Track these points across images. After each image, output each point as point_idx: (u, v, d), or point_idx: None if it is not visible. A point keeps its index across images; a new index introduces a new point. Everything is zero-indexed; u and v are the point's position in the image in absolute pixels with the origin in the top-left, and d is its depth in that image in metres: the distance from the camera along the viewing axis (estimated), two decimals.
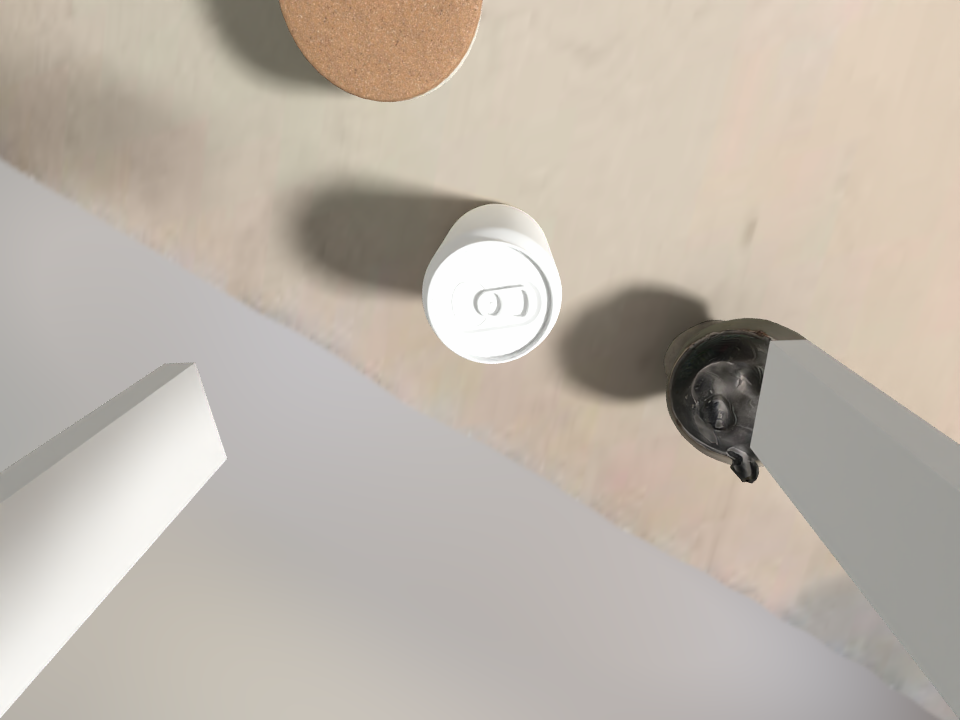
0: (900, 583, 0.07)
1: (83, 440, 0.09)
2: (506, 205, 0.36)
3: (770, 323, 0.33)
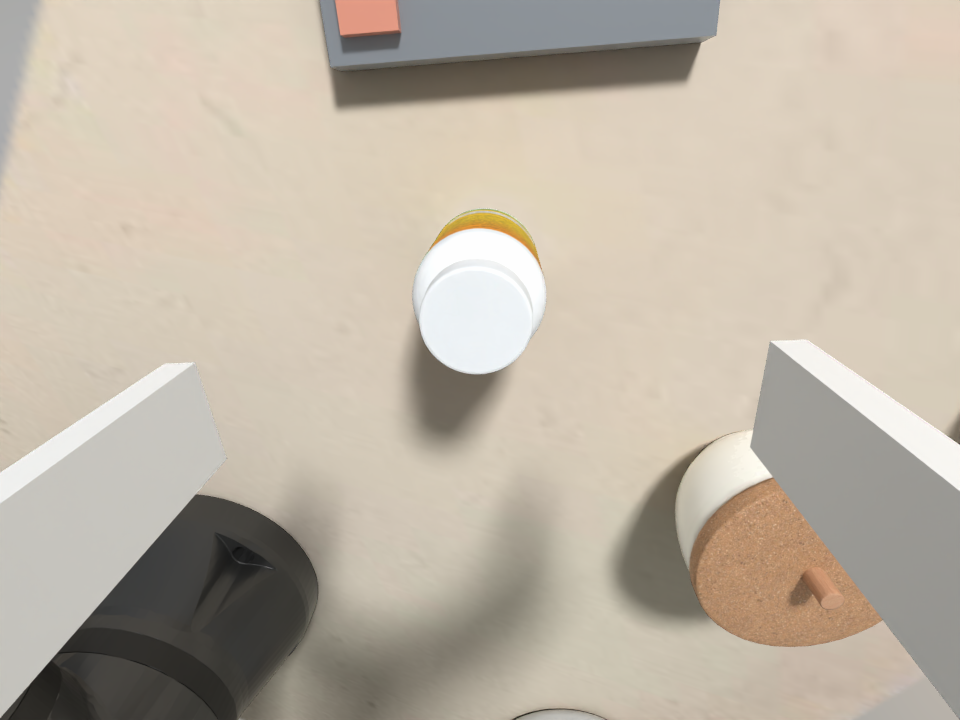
0: (900, 583, 0.07)
1: (83, 440, 0.09)
2: None
3: None
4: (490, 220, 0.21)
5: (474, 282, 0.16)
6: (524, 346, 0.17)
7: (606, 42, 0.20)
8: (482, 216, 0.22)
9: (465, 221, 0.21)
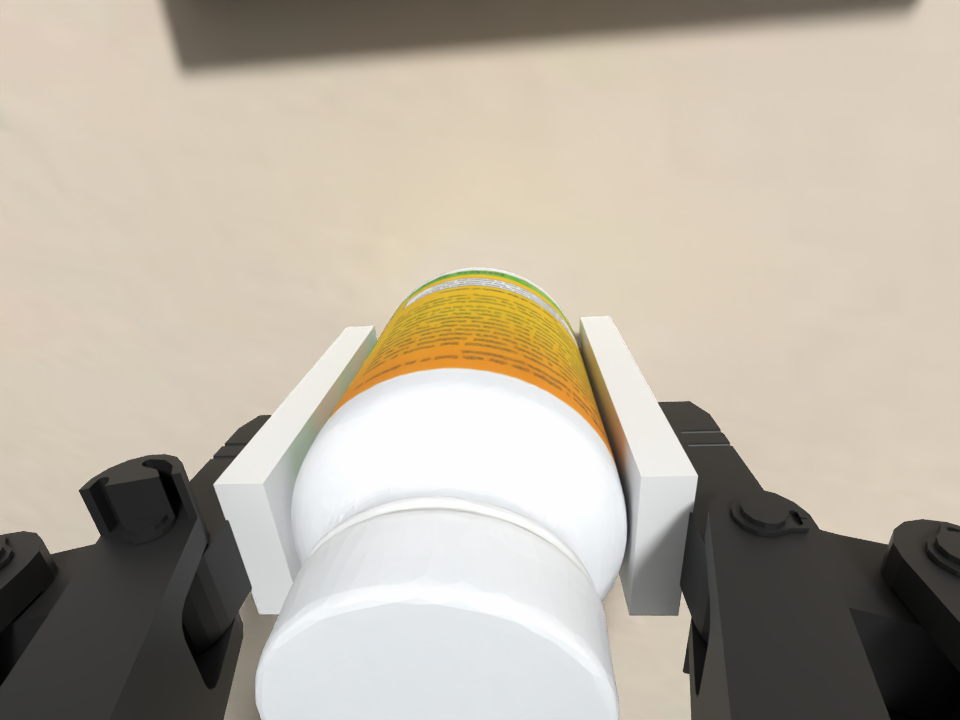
0: None
1: (331, 381, 0.10)
2: None
3: None
4: (488, 319, 0.09)
5: (426, 633, 0.05)
6: None
7: None
8: (471, 302, 0.10)
9: (432, 319, 0.09)
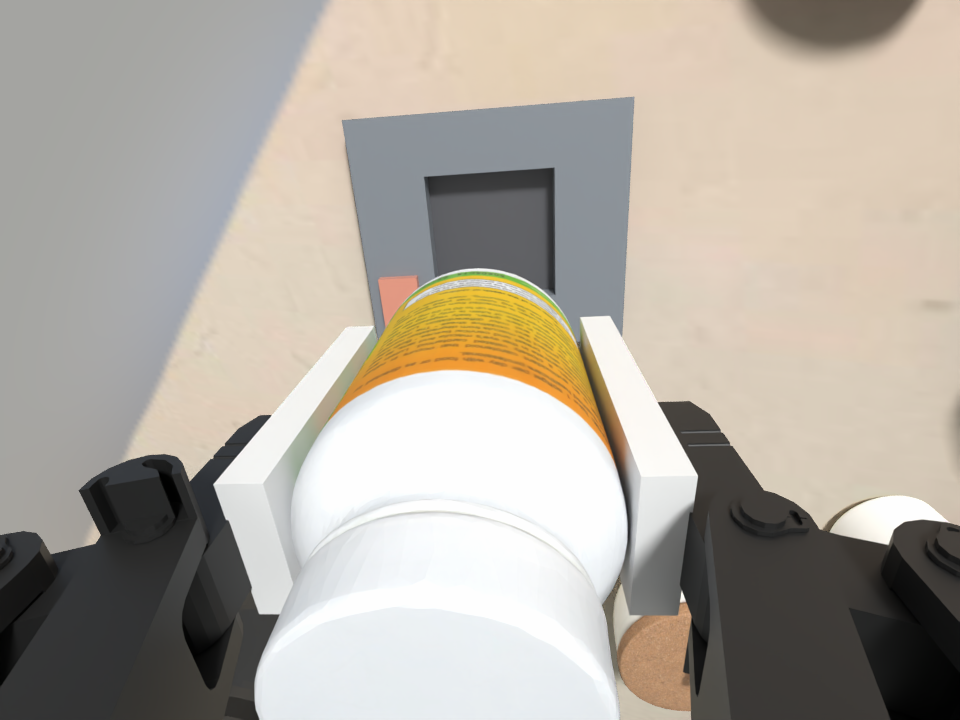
0: None
1: (331, 381, 0.10)
2: (835, 532, 0.38)
3: None
4: (488, 321, 0.09)
5: (426, 636, 0.05)
6: None
7: None
8: (471, 304, 0.10)
9: (432, 321, 0.09)
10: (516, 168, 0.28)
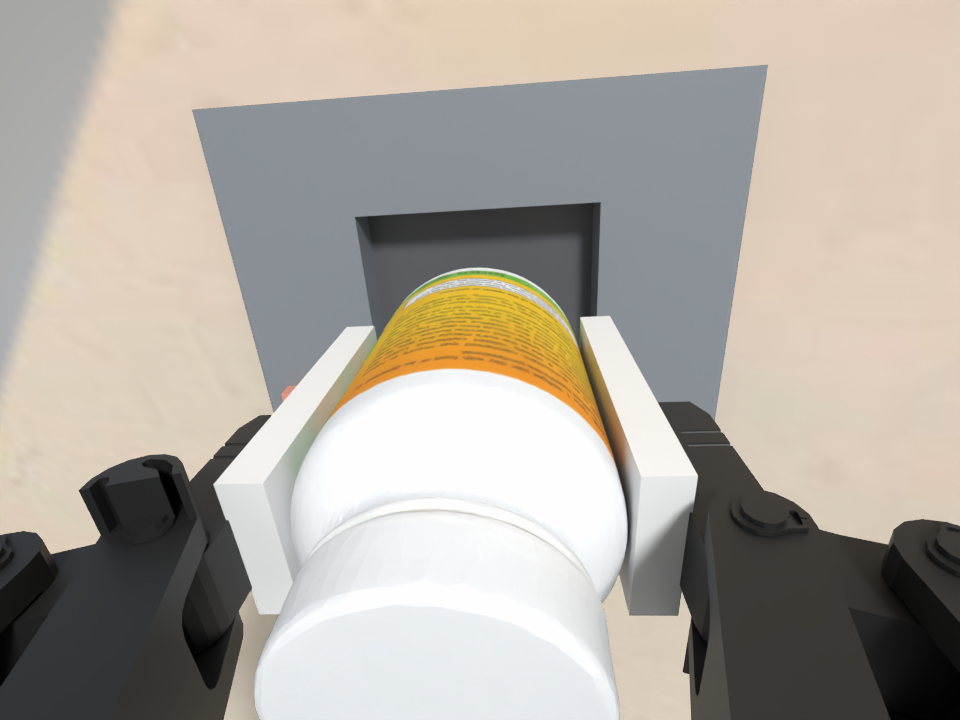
0: None
1: (331, 381, 0.10)
2: None
3: None
4: (488, 320, 0.09)
5: (424, 635, 0.05)
6: None
7: None
8: (471, 303, 0.10)
9: (432, 320, 0.09)
10: (528, 203, 0.15)
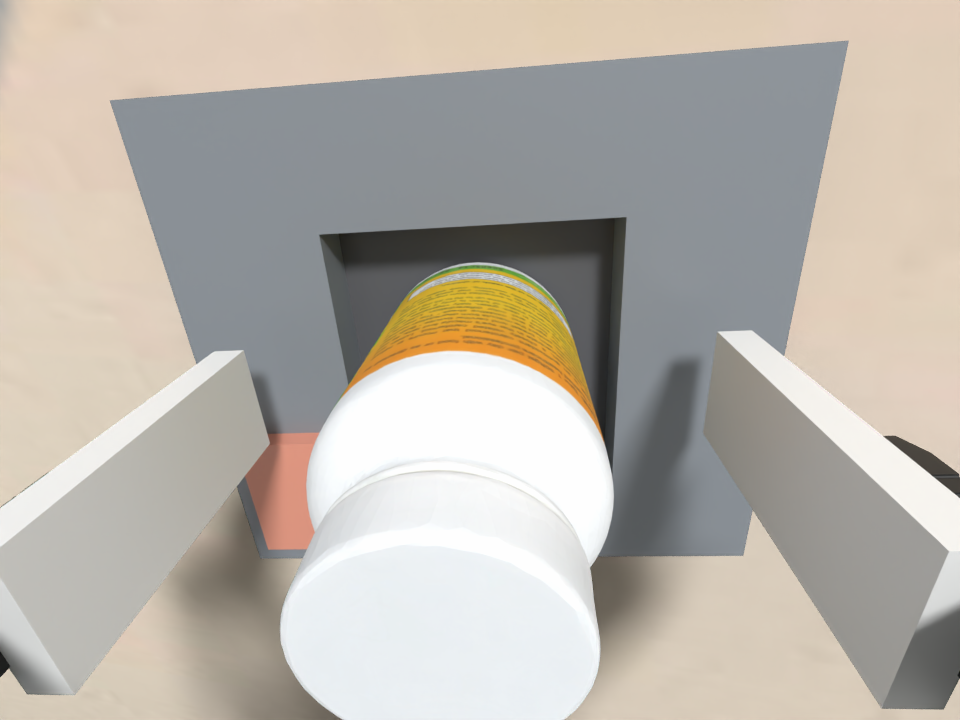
0: (813, 550, 0.08)
1: (153, 419, 0.09)
2: None
3: None
4: (487, 309, 0.10)
5: (430, 572, 0.05)
6: (573, 709, 0.06)
7: (603, 555, 0.16)
8: (471, 294, 0.11)
9: (435, 309, 0.10)
10: (535, 218, 0.12)
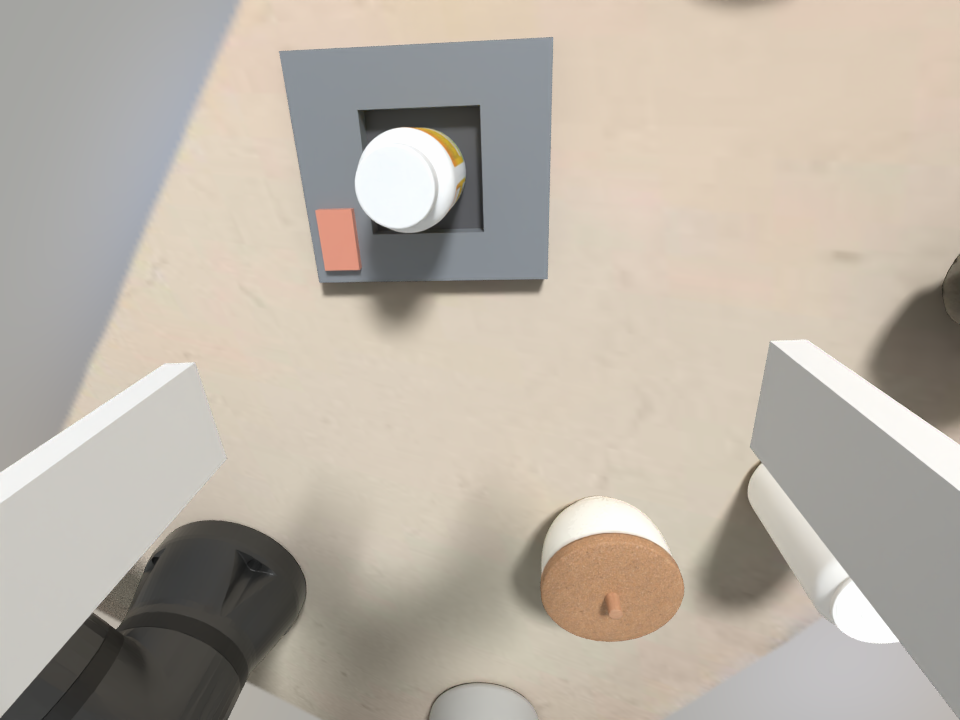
0: (900, 584, 0.07)
1: (83, 440, 0.09)
2: (754, 478, 0.40)
3: None
4: (419, 128, 0.28)
5: (392, 155, 0.23)
6: (429, 206, 0.24)
7: (483, 279, 0.34)
8: None
9: None
10: (444, 104, 0.30)
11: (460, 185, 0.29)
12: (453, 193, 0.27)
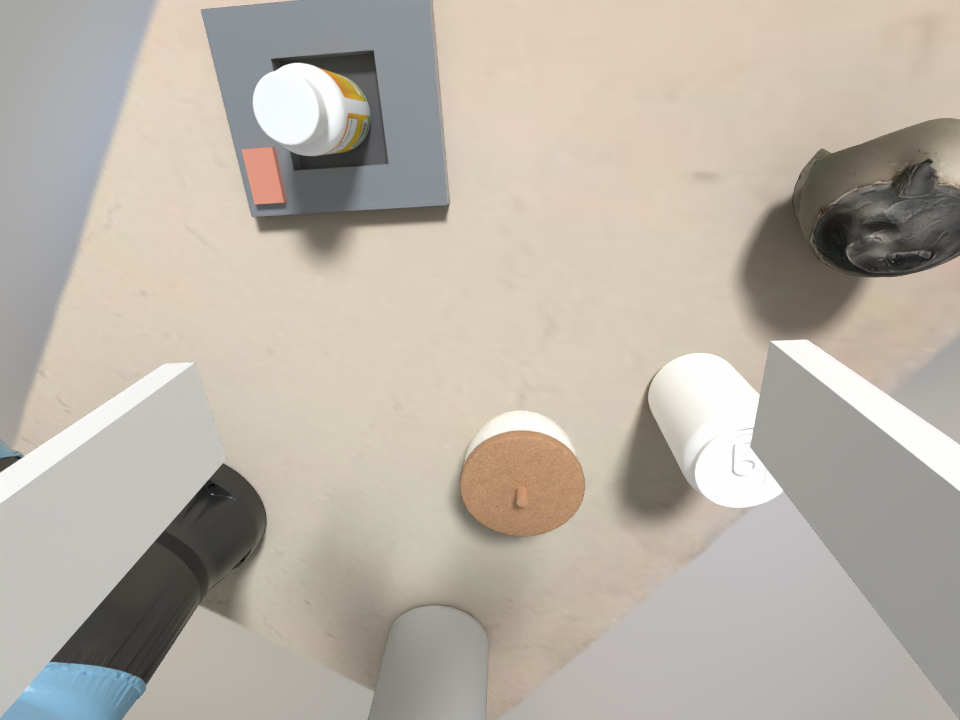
0: (900, 584, 0.07)
1: (83, 440, 0.09)
2: (651, 387, 0.45)
3: (814, 188, 0.33)
4: None
5: (281, 80, 0.29)
6: (316, 124, 0.29)
7: (392, 207, 0.39)
8: None
9: None
10: (343, 50, 0.35)
11: (357, 117, 0.34)
12: (343, 118, 0.32)
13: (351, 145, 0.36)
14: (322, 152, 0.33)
